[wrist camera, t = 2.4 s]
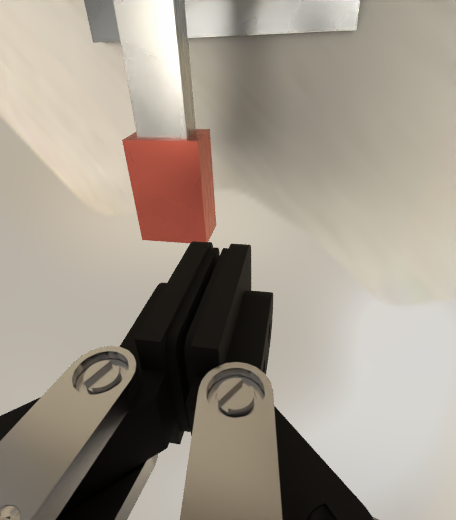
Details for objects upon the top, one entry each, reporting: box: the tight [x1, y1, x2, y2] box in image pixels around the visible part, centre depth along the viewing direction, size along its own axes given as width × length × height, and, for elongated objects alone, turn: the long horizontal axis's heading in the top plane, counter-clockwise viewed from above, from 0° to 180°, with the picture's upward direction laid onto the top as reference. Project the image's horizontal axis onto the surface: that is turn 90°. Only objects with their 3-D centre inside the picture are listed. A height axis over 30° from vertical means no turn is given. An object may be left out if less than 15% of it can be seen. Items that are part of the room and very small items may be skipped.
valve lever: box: [113, 0, 216, 243], centre depth 12 cm, size 14×3×2 cm, turn 2°
